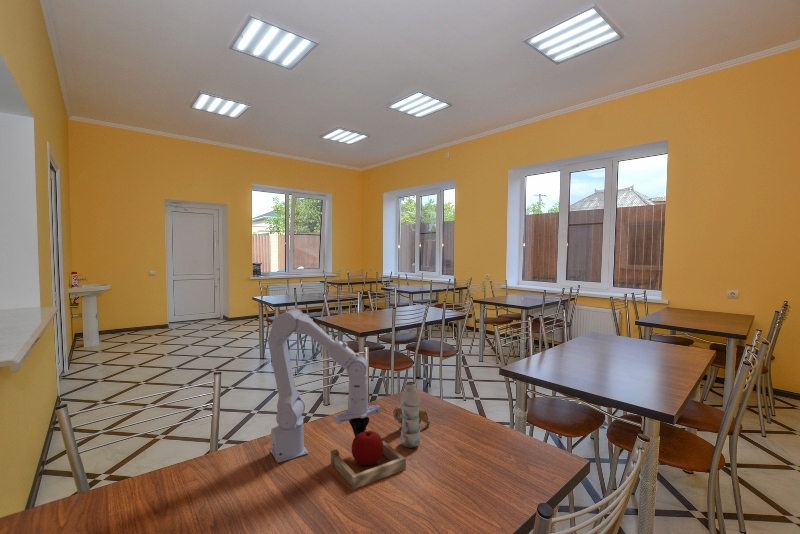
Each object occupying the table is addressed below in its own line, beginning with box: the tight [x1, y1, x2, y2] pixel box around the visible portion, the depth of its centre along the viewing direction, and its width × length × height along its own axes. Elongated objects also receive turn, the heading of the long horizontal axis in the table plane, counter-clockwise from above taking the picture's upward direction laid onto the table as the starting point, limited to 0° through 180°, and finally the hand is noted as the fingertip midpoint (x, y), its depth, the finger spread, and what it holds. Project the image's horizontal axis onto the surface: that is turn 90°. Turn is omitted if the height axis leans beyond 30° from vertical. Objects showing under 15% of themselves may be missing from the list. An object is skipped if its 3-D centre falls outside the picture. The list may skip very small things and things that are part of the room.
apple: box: [351, 427, 383, 466], centre depth 111 cm, size 9×9×10 cm
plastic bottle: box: [400, 380, 422, 448], centre depth 120 cm, size 6×7×20 cm
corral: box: [330, 434, 407, 490], centre depth 109 cm, size 17×14×4 cm
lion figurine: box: [392, 405, 431, 430], centre depth 132 cm, size 15×5×9 cm, turn 119°
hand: (358, 440), depth 116 cm, fingers closed, pressing on apple
